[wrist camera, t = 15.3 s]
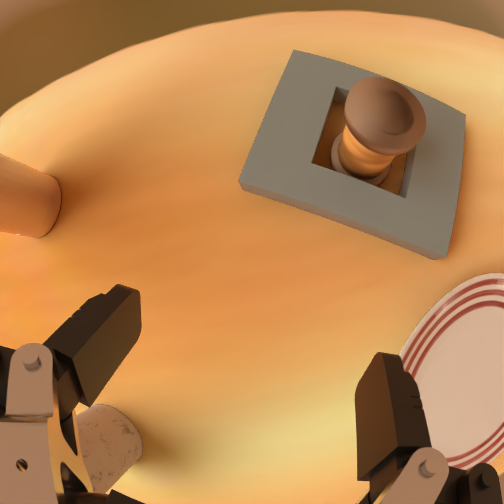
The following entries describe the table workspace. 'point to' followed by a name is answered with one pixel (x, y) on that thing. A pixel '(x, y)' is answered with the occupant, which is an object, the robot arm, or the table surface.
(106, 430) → the speckled tan cylinder
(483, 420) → the dinner plate
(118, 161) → the table surface
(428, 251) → the grey rectangular frame
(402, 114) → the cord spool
